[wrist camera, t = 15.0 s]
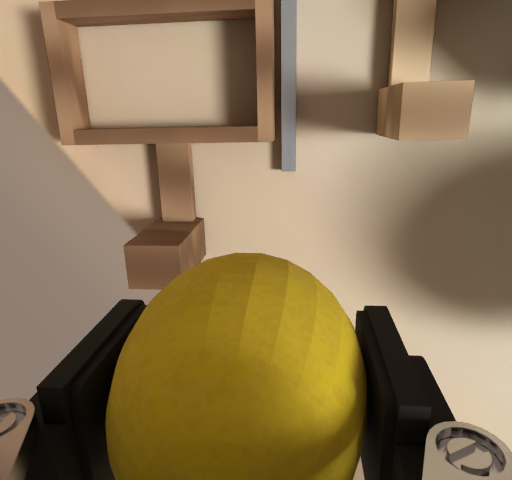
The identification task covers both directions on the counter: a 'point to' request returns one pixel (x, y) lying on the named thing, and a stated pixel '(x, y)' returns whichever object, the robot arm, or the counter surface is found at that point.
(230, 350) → the lemon
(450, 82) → the sled
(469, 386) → the counter surface
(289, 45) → the grey bench
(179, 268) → the wooden handled tray
